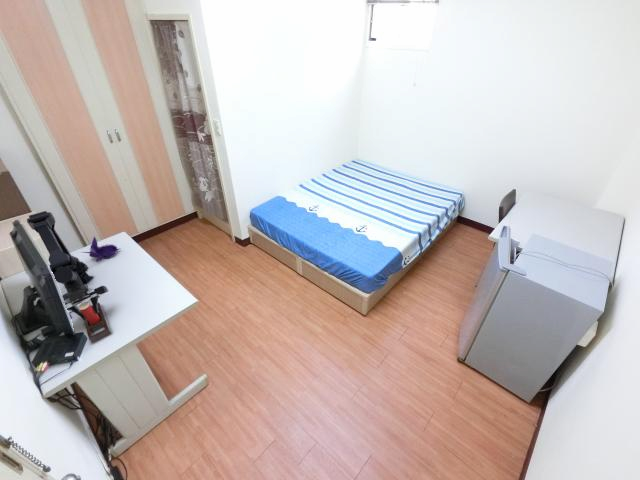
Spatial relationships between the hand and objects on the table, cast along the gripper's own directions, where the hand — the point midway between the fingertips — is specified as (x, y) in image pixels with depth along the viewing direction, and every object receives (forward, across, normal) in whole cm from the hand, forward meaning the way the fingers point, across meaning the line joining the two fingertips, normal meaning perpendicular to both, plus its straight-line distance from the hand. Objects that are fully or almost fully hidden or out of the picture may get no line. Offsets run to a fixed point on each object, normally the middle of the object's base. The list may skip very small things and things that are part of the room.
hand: (91, 316), depth 124 cm
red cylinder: (+4, 0, +6) cm, 7 cm away
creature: (-31, +13, +40) cm, 52 cm away
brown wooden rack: (+4, 0, +6) cm, 7 cm away
